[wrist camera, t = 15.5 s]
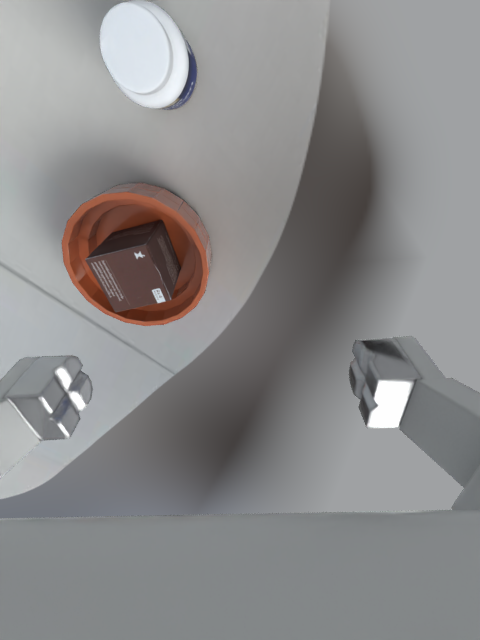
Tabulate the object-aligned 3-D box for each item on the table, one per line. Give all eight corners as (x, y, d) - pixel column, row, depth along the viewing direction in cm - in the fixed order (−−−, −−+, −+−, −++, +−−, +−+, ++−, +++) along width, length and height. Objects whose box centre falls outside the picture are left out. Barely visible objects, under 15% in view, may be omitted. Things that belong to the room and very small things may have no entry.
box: (111, 230, 32) (82, 257, 26) (163, 217, 31) (146, 242, 25) (134, 280, 36) (114, 314, 30) (182, 269, 35) (171, 301, 29)
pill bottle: (169, 124, 27) (141, 129, 19) (120, 67, 25) (65, 44, 17) (211, 74, 25) (200, 56, 17) (162, 7, 23) (123, -51, 15)
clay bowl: (201, 175, 30) (195, 185, 26) (218, 298, 38) (216, 320, 34) (62, 188, 30) (35, 200, 26) (108, 306, 38) (93, 329, 34)
